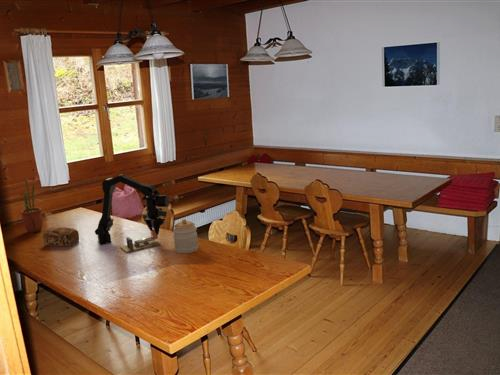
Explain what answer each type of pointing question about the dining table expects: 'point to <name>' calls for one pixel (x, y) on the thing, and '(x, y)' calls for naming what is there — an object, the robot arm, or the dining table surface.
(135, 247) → the latch board
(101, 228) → the robot arm
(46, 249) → the dining table surface
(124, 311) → the dining table surface
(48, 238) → the bread
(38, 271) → the dining table surface
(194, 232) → the jar
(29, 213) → the potted plant
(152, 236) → the bolt
